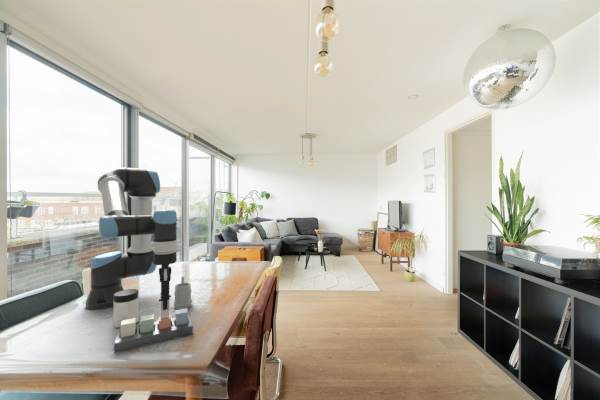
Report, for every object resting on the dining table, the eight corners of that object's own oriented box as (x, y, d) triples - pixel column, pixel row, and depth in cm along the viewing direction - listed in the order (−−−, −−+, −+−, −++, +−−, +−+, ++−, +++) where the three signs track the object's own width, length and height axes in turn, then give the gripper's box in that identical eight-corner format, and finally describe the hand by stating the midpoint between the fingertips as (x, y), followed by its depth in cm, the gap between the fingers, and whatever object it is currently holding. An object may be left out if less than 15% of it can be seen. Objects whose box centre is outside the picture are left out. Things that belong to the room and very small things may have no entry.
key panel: (118, 336, 90) (119, 328, 90) (189, 321, 101) (189, 314, 101) (114, 352, 80) (114, 343, 80) (192, 334, 92) (192, 326, 92)
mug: (173, 311, 111) (173, 283, 112) (173, 301, 122) (173, 276, 122) (192, 307, 115) (192, 281, 115) (191, 299, 125) (191, 274, 126)
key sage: (140, 329, 90) (140, 316, 90) (153, 326, 92) (153, 314, 92) (140, 334, 87) (140, 321, 87) (153, 331, 89) (153, 318, 89)
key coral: (158, 329, 93) (158, 317, 93) (170, 326, 95) (170, 314, 95) (158, 334, 90) (158, 321, 90) (171, 331, 91) (171, 318, 92)
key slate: (175, 322, 96) (175, 310, 96) (186, 319, 98) (186, 308, 98) (175, 326, 92) (175, 314, 92) (187, 324, 94) (187, 312, 94)
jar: (107, 329, 96) (108, 297, 96) (118, 319, 104) (118, 289, 104) (134, 326, 98) (134, 295, 98) (142, 317, 106) (142, 288, 106)
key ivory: (122, 333, 88) (122, 320, 88) (135, 330, 90) (135, 317, 90) (120, 338, 84) (120, 325, 84) (134, 335, 86) (135, 322, 86)
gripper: (153, 250, 96) (153, 312, 96) (152, 256, 85) (152, 327, 85) (175, 248, 100) (175, 308, 100) (177, 254, 89) (177, 322, 88)
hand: (164, 317), depth 92 cm, fingers closed
